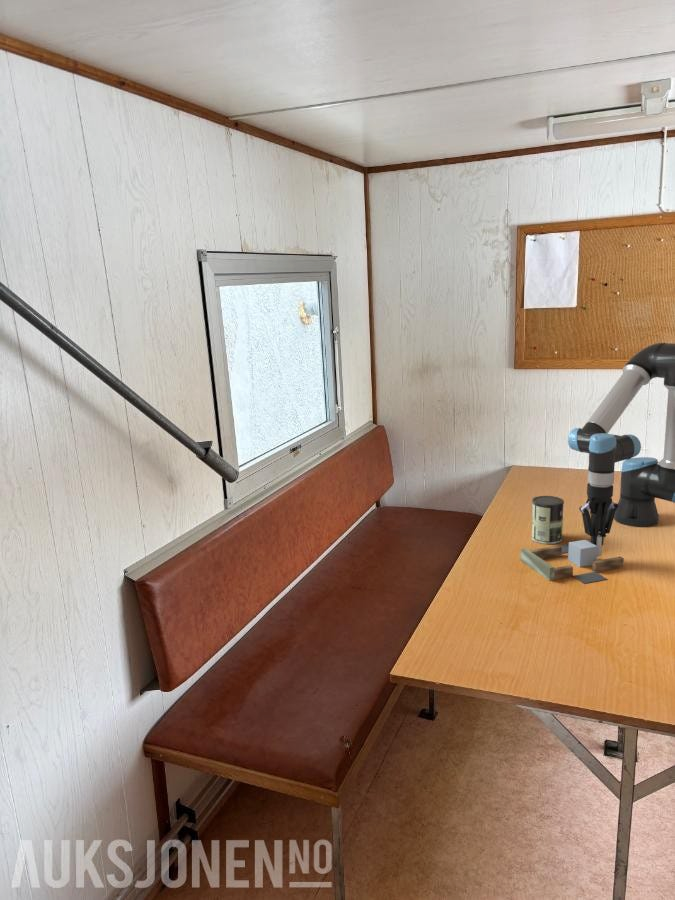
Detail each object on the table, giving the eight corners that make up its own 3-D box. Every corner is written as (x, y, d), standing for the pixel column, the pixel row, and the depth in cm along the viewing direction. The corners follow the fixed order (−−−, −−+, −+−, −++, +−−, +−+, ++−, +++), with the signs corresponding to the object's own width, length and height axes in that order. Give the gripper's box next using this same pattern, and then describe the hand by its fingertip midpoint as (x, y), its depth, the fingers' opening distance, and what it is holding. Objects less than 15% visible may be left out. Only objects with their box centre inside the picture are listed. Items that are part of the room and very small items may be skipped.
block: (584, 557, 215) (585, 539, 213) (596, 564, 209) (597, 546, 208) (568, 559, 213) (568, 542, 212) (579, 567, 207) (580, 549, 206)
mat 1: (569, 544, 225) (569, 544, 225) (579, 550, 220) (579, 550, 220) (548, 548, 223) (548, 547, 223) (558, 554, 218) (558, 553, 218)
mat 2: (595, 572, 203) (595, 571, 203) (607, 579, 198) (607, 578, 198) (572, 576, 201) (572, 575, 201) (584, 583, 196) (584, 583, 196)
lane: (590, 548, 221) (590, 537, 220) (623, 567, 206) (623, 555, 205) (520, 560, 214) (520, 548, 213) (549, 580, 199) (549, 568, 198)
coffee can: (560, 534, 235) (562, 495, 231) (563, 545, 225) (565, 505, 222) (530, 532, 237) (531, 495, 234) (532, 543, 227) (533, 504, 224)
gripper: (610, 478, 212) (605, 548, 217) (574, 483, 208) (571, 553, 214) (626, 484, 205) (621, 556, 210) (590, 489, 201) (586, 562, 207)
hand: (596, 555), depth 212 cm, fingers closed
